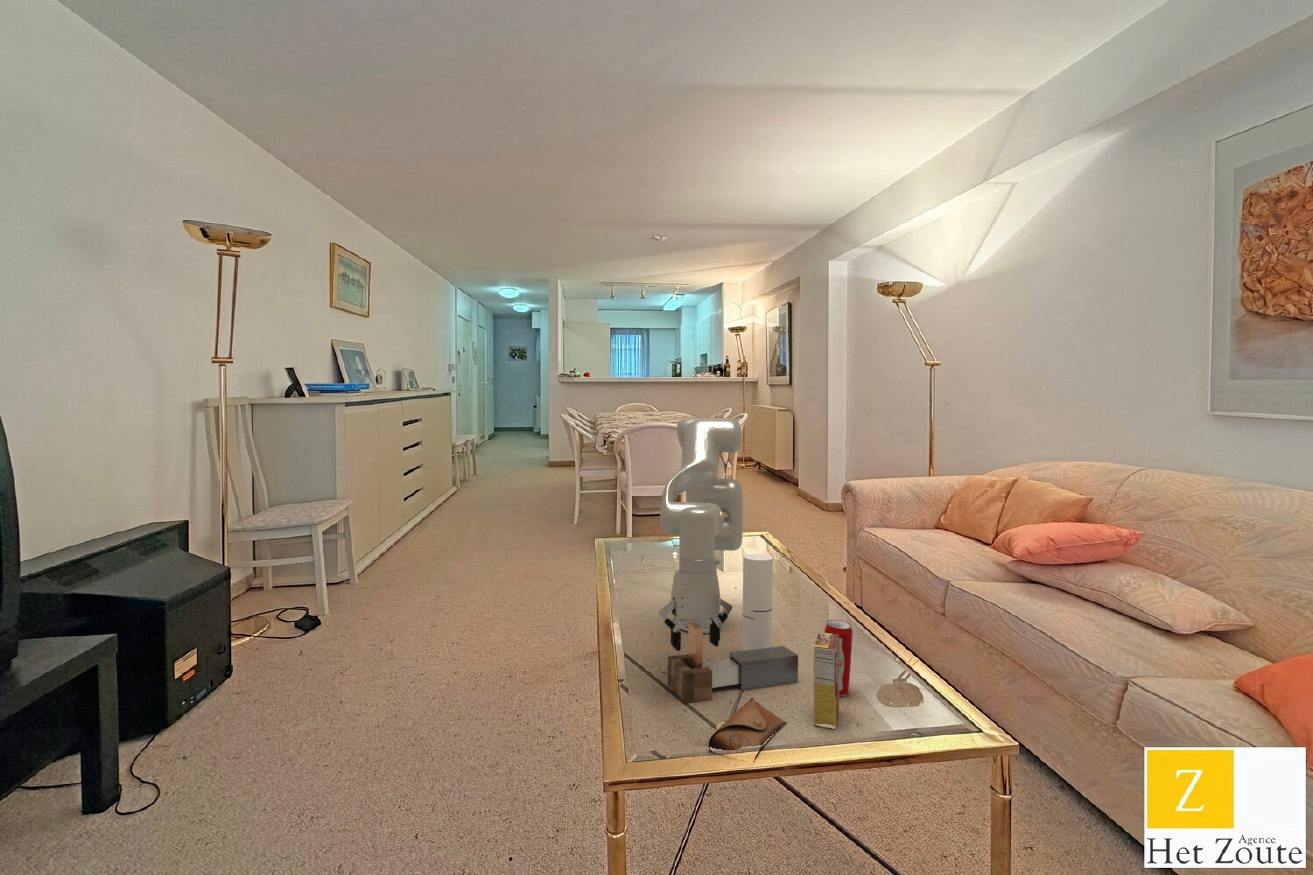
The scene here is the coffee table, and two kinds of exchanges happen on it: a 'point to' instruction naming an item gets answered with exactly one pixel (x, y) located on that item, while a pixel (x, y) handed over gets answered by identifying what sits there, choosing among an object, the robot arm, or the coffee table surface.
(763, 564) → the cylindrical container
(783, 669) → the grey metal block
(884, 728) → the coffee table surface
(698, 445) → the robot arm
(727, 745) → the sunglasses case
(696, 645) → the tan wooden slab
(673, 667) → the socket
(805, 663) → the coffee table surface
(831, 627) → the beverage can
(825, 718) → the candy box
